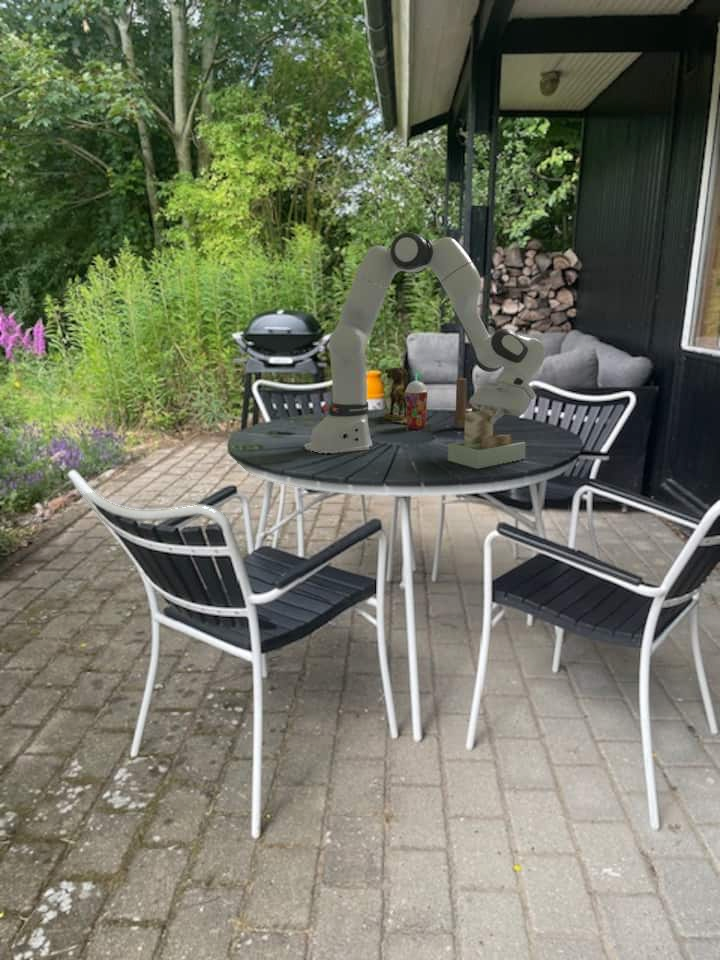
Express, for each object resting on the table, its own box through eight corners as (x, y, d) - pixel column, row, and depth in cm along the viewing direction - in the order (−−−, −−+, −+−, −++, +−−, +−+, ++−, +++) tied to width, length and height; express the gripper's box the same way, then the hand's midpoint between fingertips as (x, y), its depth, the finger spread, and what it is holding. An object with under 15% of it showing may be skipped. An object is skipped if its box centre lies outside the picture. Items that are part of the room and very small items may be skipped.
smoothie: (427, 425, 261) (428, 371, 256) (427, 430, 253) (427, 374, 248) (405, 425, 262) (405, 372, 257) (404, 429, 254) (404, 374, 249)
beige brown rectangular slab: (469, 461, 206) (471, 414, 202) (463, 459, 208) (465, 413, 204) (492, 457, 210) (493, 411, 207) (486, 455, 213) (487, 409, 209)
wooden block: (484, 427, 258) (485, 377, 253) (458, 429, 254) (459, 379, 250) (479, 425, 261) (481, 376, 256) (453, 427, 258) (454, 378, 253)
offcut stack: (487, 464, 201) (488, 439, 199) (477, 462, 204) (478, 436, 202) (511, 460, 206) (512, 435, 204) (501, 457, 209) (502, 433, 207)
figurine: (407, 413, 289) (407, 364, 284) (421, 424, 265) (422, 370, 260) (376, 414, 287) (376, 365, 282) (388, 425, 263) (388, 371, 258)
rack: (477, 468, 197) (477, 451, 195) (447, 460, 207) (448, 443, 206) (524, 459, 207) (525, 442, 206) (494, 451, 217) (495, 436, 216)
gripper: (480, 375, 217) (456, 410, 214) (530, 382, 200) (504, 419, 198) (490, 388, 220) (466, 423, 218) (540, 396, 204) (514, 433, 201)
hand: (485, 421), depth 208 cm, fingers open, 3 cm apart
